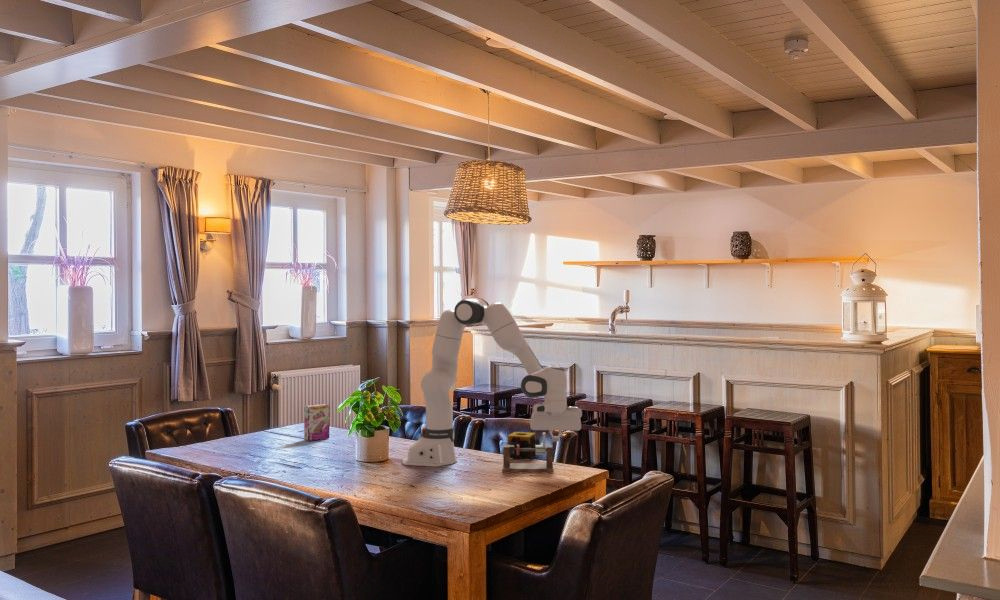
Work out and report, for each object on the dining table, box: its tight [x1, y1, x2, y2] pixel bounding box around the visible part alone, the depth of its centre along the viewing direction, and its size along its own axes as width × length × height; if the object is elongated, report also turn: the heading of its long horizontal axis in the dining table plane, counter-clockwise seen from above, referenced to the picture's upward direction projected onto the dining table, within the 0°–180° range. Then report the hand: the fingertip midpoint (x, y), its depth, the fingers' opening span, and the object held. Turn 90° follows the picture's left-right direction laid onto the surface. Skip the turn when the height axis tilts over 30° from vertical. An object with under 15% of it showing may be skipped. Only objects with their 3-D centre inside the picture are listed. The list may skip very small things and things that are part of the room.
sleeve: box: [536, 432, 547, 456], centre depth 317 cm, size 4×3×8 cm
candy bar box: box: [303, 403, 330, 442], centre depth 381 cm, size 11×5×16 cm, turn 130°
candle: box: [507, 431, 537, 461], centre depth 340 cm, size 10×10×10 cm
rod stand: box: [502, 444, 555, 474], centre depth 317 cm, size 20×10×10 cm, turn 87°
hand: (555, 441), depth 316 cm, fingers closed
